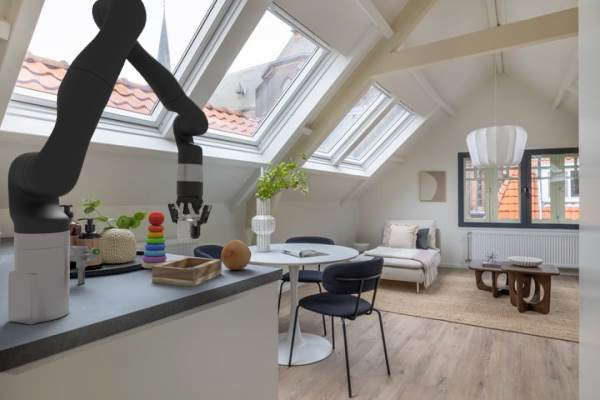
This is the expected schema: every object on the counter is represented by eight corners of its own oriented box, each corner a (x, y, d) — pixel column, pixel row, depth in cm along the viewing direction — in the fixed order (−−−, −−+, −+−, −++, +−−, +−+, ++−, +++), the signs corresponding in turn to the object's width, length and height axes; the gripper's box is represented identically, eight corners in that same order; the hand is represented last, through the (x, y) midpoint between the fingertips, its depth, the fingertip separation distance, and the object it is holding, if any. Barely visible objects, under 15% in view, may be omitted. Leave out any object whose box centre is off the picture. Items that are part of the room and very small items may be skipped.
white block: (189, 242, 104) (189, 221, 104) (177, 241, 105) (177, 220, 105) (200, 239, 110) (201, 219, 109) (189, 238, 111) (189, 219, 111)
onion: (251, 273, 116) (251, 241, 115) (219, 273, 114) (220, 241, 114) (250, 266, 125) (251, 237, 125) (221, 266, 124) (222, 237, 123)
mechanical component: (93, 286, 96) (93, 248, 96) (60, 283, 98) (60, 246, 98) (101, 283, 99) (101, 247, 99) (69, 280, 101) (69, 245, 101)
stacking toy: (161, 269, 117) (162, 212, 117) (137, 269, 118) (138, 211, 117) (170, 264, 125) (171, 210, 125) (147, 264, 125) (148, 210, 125)
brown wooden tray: (192, 286, 98) (192, 270, 98) (152, 282, 102) (152, 266, 102) (221, 273, 113) (221, 259, 113) (185, 270, 117) (185, 256, 117)
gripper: (161, 179, 105) (160, 238, 106) (204, 180, 101) (203, 241, 102) (176, 180, 112) (176, 235, 113) (217, 180, 108) (217, 238, 109)
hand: (189, 237), depth 107 cm, fingers closed on white block, 4 cm apart
